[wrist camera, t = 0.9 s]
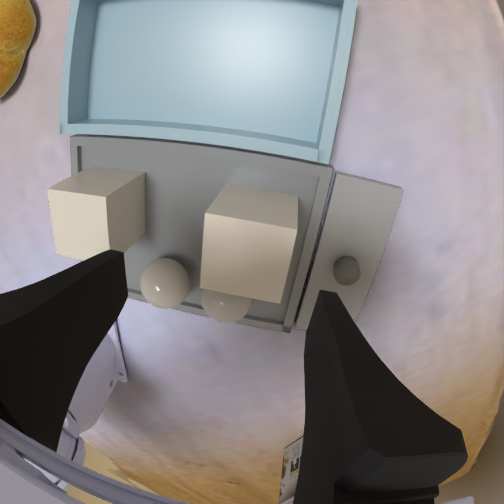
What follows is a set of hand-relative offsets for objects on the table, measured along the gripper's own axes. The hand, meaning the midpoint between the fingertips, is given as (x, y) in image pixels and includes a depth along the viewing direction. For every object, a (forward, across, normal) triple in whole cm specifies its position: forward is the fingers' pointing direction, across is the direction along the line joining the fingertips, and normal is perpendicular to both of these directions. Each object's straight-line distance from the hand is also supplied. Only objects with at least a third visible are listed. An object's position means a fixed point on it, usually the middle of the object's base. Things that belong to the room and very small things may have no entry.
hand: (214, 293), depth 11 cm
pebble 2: (+8, 0, +5) cm, 9 cm away
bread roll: (+9, +21, -11) cm, 25 cm away
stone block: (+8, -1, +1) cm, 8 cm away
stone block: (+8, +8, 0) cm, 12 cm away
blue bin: (+8, +4, -8) cm, 13 cm away
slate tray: (+8, +2, +2) cm, 9 cm away
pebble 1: (+8, +4, +5) cm, 10 cm away
